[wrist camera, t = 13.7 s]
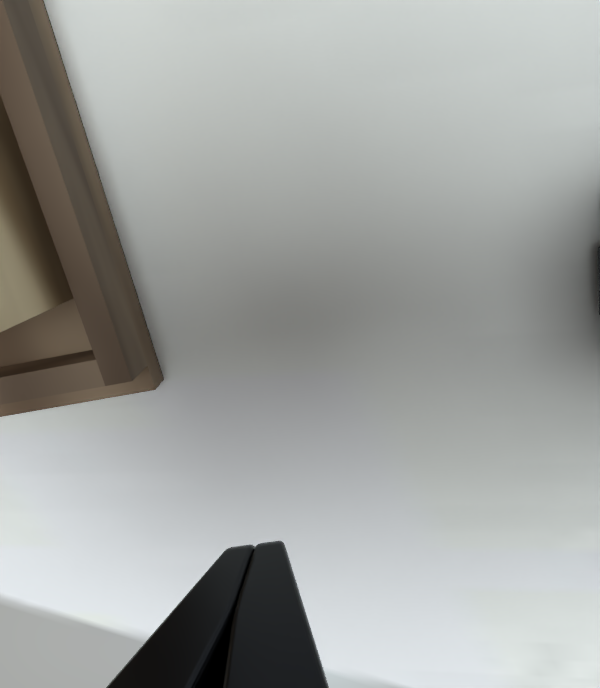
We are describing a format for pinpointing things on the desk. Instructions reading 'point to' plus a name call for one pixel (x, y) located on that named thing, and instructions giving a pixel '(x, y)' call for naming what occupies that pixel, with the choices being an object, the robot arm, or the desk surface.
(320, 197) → the desk surface
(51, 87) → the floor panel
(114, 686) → the robot arm
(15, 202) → the oak plank
